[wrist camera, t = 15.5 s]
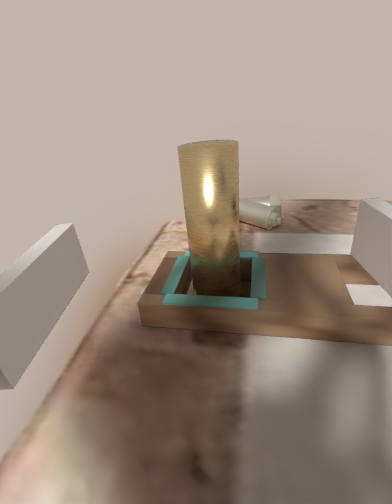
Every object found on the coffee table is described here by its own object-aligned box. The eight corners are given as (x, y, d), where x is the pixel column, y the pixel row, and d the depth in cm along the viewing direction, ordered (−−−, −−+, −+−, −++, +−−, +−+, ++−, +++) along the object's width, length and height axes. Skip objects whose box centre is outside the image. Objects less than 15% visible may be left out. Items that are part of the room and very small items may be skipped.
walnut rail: (432, 279, 27) (441, 254, 25) (502, 354, 19) (520, 324, 18) (170, 270, 32) (167, 249, 31) (142, 325, 24) (137, 301, 23)
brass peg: (241, 285, 28) (239, 138, 22) (239, 314, 25) (236, 147, 18) (199, 283, 29) (185, 142, 23) (190, 311, 26) (170, 151, 19)
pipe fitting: (286, 234, 39) (275, 213, 45) (288, 208, 37) (276, 190, 43) (229, 238, 40) (225, 217, 45) (228, 213, 37) (224, 194, 43)
